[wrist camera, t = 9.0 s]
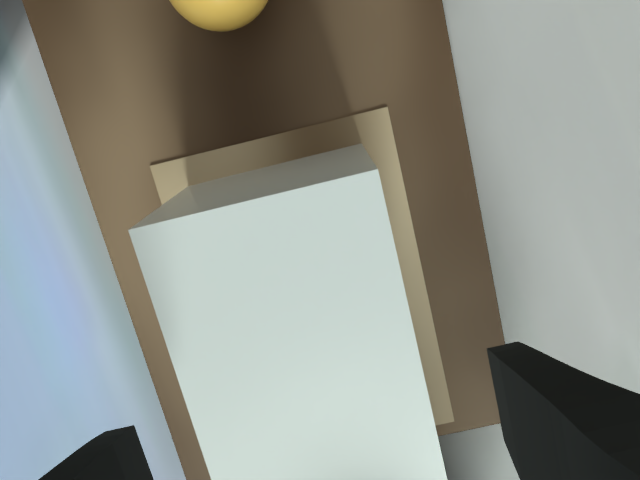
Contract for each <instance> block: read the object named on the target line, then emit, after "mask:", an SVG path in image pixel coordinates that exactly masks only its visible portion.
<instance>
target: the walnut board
mask: <svg viewBox="0 0 640 480" xmlns="http://www.w3.org/2000/svg"><path fill="white" fill-rule="evenodd" d="M22 1H23V4H24V7H25V10H26V13H27V16H28V19H29V22H30V25H31V28H32V31H33V33H34V36H35V39H36V42H37V45H38V48H39V51H40V54H41V57H42V60H43V63H44V66H45V68H46V71H47V74H48V77H49V80H50V83H51V86H52V89H53V92H54V95H55V98H56V101H57V103H58V106H59V109H60V112H61V115H62V118H63V121H64V124H65V127H66V130H67V133H68V136H69V138H70V141H71V144H72V147H73V150H74V153H75V156H76V159H77V162H78V165H79V168H80V171H81V173H82V176H83V179H84V182H85V185H86V188H87V191H88V194H89V197H90V200H91V203H92V206H93V208H94V211H95V214H96V217H97V220H98V223H99V226H100V229H101V232H102V235H103V238H104V241H105V243H106V246H107V249H108V252H109V255H110V258H111V261H112V264H113V267H114V270H115V273H116V276H117V278H118V281H119V284H120V287H121V290H122V293H123V296H124V299H125V302H126V305H127V308H128V311H129V313H130V316H131V319H132V322H133V325H134V328H135V331H136V334H137V337H138V340H139V343H140V346H141V348H142V351H143V354H144V357H145V360H146V363H147V366H148V369H149V372H150V375H151V378H152V381H153V383H154V386H155V389H156V392H157V395H158V398H159V401H160V404H161V407H162V410H163V413H164V416H165V418H166V421H167V424H168V427H169V430H170V433H171V436H172V439H173V442H174V445H175V448H176V451H177V453H178V456H179V459H180V462H181V465H182V468H183V471H184V474H185V477H186V480H211V478H210V475H209V472H208V469H207V466H206V463H205V460H204V457H203V454H202V451H201V448H200V445H199V442H198V439H197V436H196V433H195V430H194V427H193V424H192V421H191V418H190V415H189V412H188V409H187V406H186V403H185V400H184V397H183V394H182V391H181V388H180V385H179V382H178V379H177V376H176V373H175V370H174V367H173V364H172V361H171V358H170V355H169V352H168V349H167V346H166V343H165V340H164V336H163V333H162V330H161V327H160V324H159V321H158V318H157V315H156V312H155V309H154V306H153V303H152V300H151V297H150V294H149V291H148V288H147V285H146V282H145V279H144V276H143V273H142V270H141V267H140V264H139V261H138V258H137V255H136V252H135V249H134V246H133V243H132V240H131V237H130V234H129V231H128V230H129V229H130V228H131V227H133V226H134V225H135V224H137V223H138V222H140V221H141V220H142V219H144V218H145V217H146V216H148V215H149V214H151V213H152V212H153V211H155V210H156V209H157V208H159V207H160V206H162V205H163V204H164V203H166V202H167V201H168V200H170V199H171V198H173V197H174V196H175V195H177V194H178V193H179V192H181V191H182V190H184V189H185V188H186V187H188V186H191V185H195V184H199V183H203V182H207V181H211V180H215V179H219V178H223V177H227V176H231V175H235V174H239V173H243V172H247V171H251V170H255V169H259V168H263V167H267V166H272V165H276V164H280V163H284V162H288V161H292V160H296V159H300V158H304V157H308V156H312V155H316V154H320V153H324V152H328V151H332V150H336V149H340V148H344V147H348V146H353V145H357V144H361V143H362V145H363V146H364V148H365V150H366V151H367V153H368V154H369V156H370V157H371V159H372V161H373V162H374V164H375V165H376V167H377V168H378V172H379V176H380V181H381V185H382V189H383V194H384V198H385V203H386V207H387V212H388V216H389V221H390V225H391V230H392V234H393V239H394V243H395V248H396V252H397V257H398V261H399V265H400V270H401V274H402V279H403V283H404V288H405V292H406V297H407V301H408V306H409V310H410V315H411V319H412V324H413V328H414V333H415V337H416V341H417V346H418V350H419V355H420V359H421V364H422V368H423V373H424V377H425V382H426V386H427V391H428V395H429V400H430V404H431V409H432V413H433V417H434V422H435V426H436V431H437V435H438V436H442V435H446V434H451V433H456V432H461V431H465V430H470V429H475V428H480V427H484V426H489V425H494V424H499V423H501V421H500V416H499V411H498V406H497V401H496V395H495V390H494V385H493V380H492V375H491V369H490V364H489V359H488V354H487V349H486V348H491V347H495V346H500V345H504V344H505V341H504V336H503V331H502V325H501V320H500V314H499V309H498V303H497V298H496V292H495V287H494V282H493V276H492V271H491V265H490V260H489V254H488V249H487V243H486V238H485V233H484V227H483V222H482V216H481V211H480V205H479V200H478V194H477V189H476V184H475V178H474V173H473V167H472V162H471V156H470V151H469V145H468V140H467V135H466V129H465V124H464V118H463V113H462V107H461V102H460V96H459V91H458V86H457V80H456V75H455V69H454V64H453V58H452V53H451V47H450V42H449V37H448V31H447V26H446V20H445V15H444V9H443V4H442V0H268V2H267V4H266V6H265V7H264V9H263V10H262V11H261V13H260V14H259V15H258V16H257V17H256V18H255V19H254V20H253V21H251V22H250V23H248V24H247V25H245V26H243V27H241V28H238V29H235V30H231V31H223V32H218V31H210V30H206V29H203V28H200V27H197V26H196V25H194V24H192V23H190V22H189V21H188V20H186V19H185V18H184V17H183V16H181V15H180V14H179V13H178V12H177V10H176V9H175V8H174V7H173V5H172V4H171V2H170V1H169V0H22Z"/></svg>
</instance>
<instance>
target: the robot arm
mask: <svg viewBox="0 0 640 480" xmlns="http://www.w3.org/2000/svg"><path fill="white" fill-rule="evenodd" d="M486 349H487V354H488V359H489V364H490V369H491V375H492V380H493V385H494V390H495V395H496V401H497V406H498V411H499V416H500V421H501V427H502V432H503V437H504V441H505V444H506V446H507V448H508V451H509V453H510V456H511V458H512V461H513V463H514V466H515V468H516V471H517V473H518V475H519V478H520V480H640V394H638V393H635V392H632V391H629V390H627V389H624V388H622V387H619V386H616V385H614V384H611V383H608V382H606V381H603V380H601V379H598V378H596V377H594V376H591V375H589V374H587V373H584V372H582V371H580V370H578V369H575V368H573V367H571V366H569V365H567V364H565V363H563V362H560V361H558V360H556V359H554V358H552V357H550V356H548V355H546V354H544V353H542V352H540V351H538V350H536V349H534V348H532V347H529V346H527V345H525V344H523V343H520V342H514V343H509V344H504V345H500V346H495V347H491V348H486ZM39 480H153V477H152V474H151V471H150V469H149V466H148V463H147V460H146V458H145V455H144V452H143V449H142V446H141V444H140V441H139V438H138V435H137V433H136V430H135V427H134V425H133V426H129V427H124V428H120V429H115V430H110V431H106V432H104V433H102V434H100V435H99V436H97V437H95V438H94V439H92V440H91V441H89V442H88V443H86V444H85V445H84V446H82V447H81V448H79V449H78V450H77V451H75V452H74V453H73V454H71V455H70V456H69V457H67V458H66V459H65V460H63V461H62V462H61V463H60V464H58V465H57V466H56V467H54V468H53V469H52V470H50V471H49V472H48V473H47V474H45V475H44V476H43V477H41V478H40V479H39Z"/></svg>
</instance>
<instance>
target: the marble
mask: <svg viewBox="0 0 640 480" xmlns="http://www.w3.org/2000/svg"><path fill="white" fill-rule="evenodd" d="M169 1H170V2H171V4H172V5H173V7H174V8H175V9H176V10H177V12H178V13H179V14H180V15H181V16H183V17H184V18H185V19H186V20H188V21H189V22H190V23H192V24H194V25H196V26H197V27H200V28H203V29H206V30H210V31H218V32H223V31H231V30H235V29H238V28H241V27H243V26H245V25H247V24H248V23H250V22H251V21H253V20H254V19H255V18H256V17H257V16H258V15H259V14H260V13H261V11H262V10H263V9H264V7H265V6H266V4H267V2H268V0H169Z"/></svg>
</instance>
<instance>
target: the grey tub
mask: <svg viewBox="0 0 640 480" xmlns="http://www.w3.org/2000/svg"><path fill="white" fill-rule="evenodd" d="M128 231H129V234H130V237H131V240H132V243H133V246H134V249H135V252H136V255H137V258H138V261H139V264H140V267H141V270H142V273H143V276H144V279H145V282H146V285H147V288H148V291H149V294H150V297H151V300H152V303H153V306H154V309H155V312H156V315H157V318H158V321H159V324H160V327H161V330H162V333H163V336H164V340H165V343H166V346H167V349H168V352H169V355H170V358H171V361H172V364H173V367H174V370H175V373H176V376H177V379H178V382H179V385H180V388H181V391H182V394H183V397H184V400H185V403H186V406H187V409H188V412H189V415H190V418H191V421H192V424H193V427H194V430H195V433H196V436H197V439H198V442H199V445H200V448H201V451H202V454H203V457H204V460H205V463H206V466H207V469H208V472H209V475H210V478H211V480H447V476H446V471H445V467H444V462H443V458H442V453H441V449H440V444H439V440H438V435H437V431H436V426H435V422H434V417H433V413H432V409H431V404H430V400H429V395H428V391H427V386H426V382H425V377H424V373H423V368H422V364H421V359H420V355H419V350H418V346H417V341H416V337H415V333H414V328H413V324H412V319H411V315H410V310H409V306H408V301H407V297H406V292H405V288H404V283H403V279H402V274H401V270H400V265H399V261H398V257H397V252H396V248H395V243H394V239H393V234H392V230H391V225H390V221H389V216H388V212H387V207H386V203H385V198H384V194H383V189H382V185H381V181H380V176H379V172H378V168H377V167H376V165H375V164H374V162H373V161H372V159H371V157H370V156H369V154H368V153H367V151H366V150H365V148H364V146H363V145H362V143H361V144H357V145H353V146H348V147H344V148H340V149H336V150H332V151H328V152H324V153H320V154H316V155H312V156H308V157H304V158H300V159H296V160H292V161H288V162H284V163H280V164H276V165H272V166H267V167H263V168H259V169H255V170H251V171H247V172H243V173H239V174H235V175H231V176H227V177H223V178H219V179H215V180H211V181H207V182H203V183H199V184H195V185H191V186H188V187H186V188H185V189H184V190H182V191H181V192H179V193H178V194H177V195H175V196H174V197H173V198H171V199H170V200H168V201H167V202H166V203H164V204H163V205H162V206H160V207H159V208H157V209H156V210H155V211H153V212H152V213H151V214H149V215H148V216H146V217H145V218H144V219H142V220H141V221H140V222H138V223H137V224H135V225H134V226H133V227H131V228H130V229H129V230H128Z"/></svg>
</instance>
